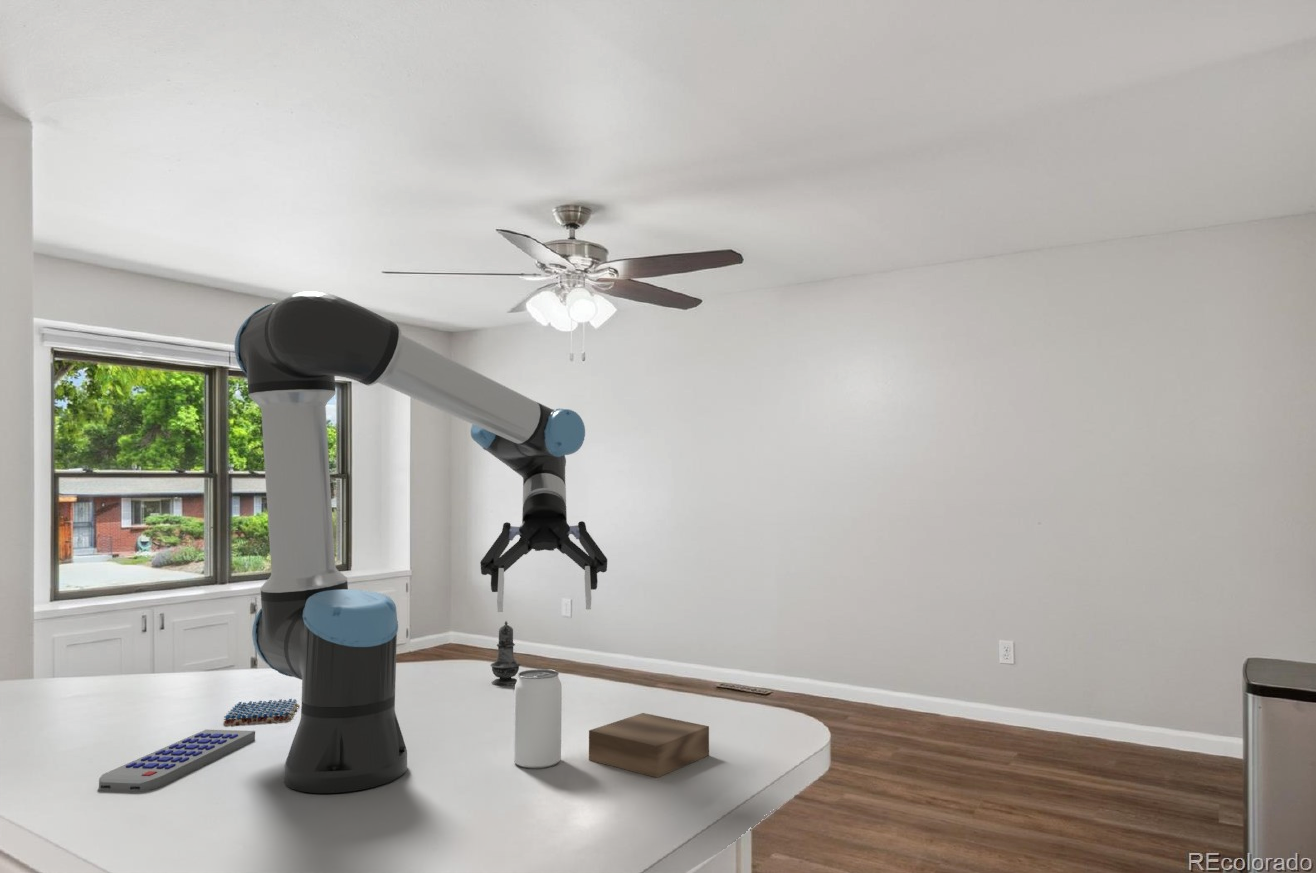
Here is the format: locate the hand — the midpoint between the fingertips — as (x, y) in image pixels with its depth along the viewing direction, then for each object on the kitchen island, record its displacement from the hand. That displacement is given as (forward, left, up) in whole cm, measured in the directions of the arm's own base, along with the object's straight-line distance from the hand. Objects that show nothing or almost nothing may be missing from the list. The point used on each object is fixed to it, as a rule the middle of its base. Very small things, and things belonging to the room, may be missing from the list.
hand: (544, 605), depth 128 cm
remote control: (-39, +31, -20) cm, 54 cm away
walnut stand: (+2, -19, -20) cm, 28 cm away
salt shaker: (+22, +33, -20) cm, 44 cm away
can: (-9, -8, -20) cm, 23 cm away
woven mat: (-20, +46, -20) cm, 54 cm away
